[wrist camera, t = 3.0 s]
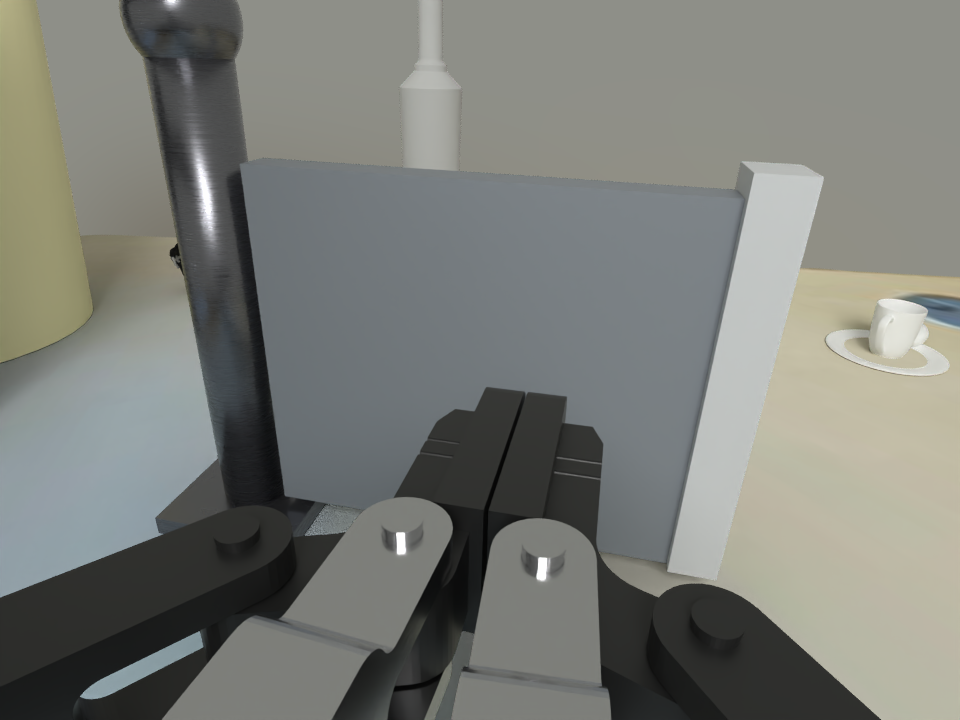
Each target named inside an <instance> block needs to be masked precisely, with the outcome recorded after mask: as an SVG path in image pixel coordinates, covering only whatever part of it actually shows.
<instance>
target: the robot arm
mask: <svg viewBox="0 0 960 720" xmlns="http://www.w3.org/2000/svg"><path fill="white" fill-rule="evenodd" d="M566 409H567V396H558V395H550V394H542V393H534V392H528V393H527V395H526V393H525V391H517V390H509V389H501V388H492V387H486V388H485V390H484V392H483V394H482V396H481V399H480V401H479V403H478V405H477V407H476V409H475V411H468V410H460V409H454V410H453V411H451V412H450V413H448V414H447V415H445V416H444V417H442V418H441V419H439V420H438V421H437V422H436V423H435V425H434V427H433V429H432V431H431V432H430V434H429V436H428V439H427V441H425V443H424V445H423V446H422V448H421V450H420V454H418V455H417V457H416V459H415V461H414V462H413V464H412V466H411V468H410V469H409V471H408V473H407V475H406V476H405V478H404V480H403V482H402V484H401V485H400V487H399V489H398V491H397V492H396V494H395V496H394V498H392V499H387V500H384V501H381V502H378V503H376V504H374V505H372V506H370V507H368V508H367V509H366V510H364V511H363V512H362V513H361V514H360V515H359V516H358V517H357V518H356V520H355V521H354V522H353V524H352V525H351V526H350V528H349V529H348V530H347V532H343V533H338V534H329V535H314V536H299V537H293V530H292V525H291V522H290V520H289V519H288V517H287V516H286V515H284V514H283V513H282V512H280V511H278V510H276V509H273V508H270V507H265V506H243V507H236V508H232V509H228V510H225V511H222V512H220V513H217V514H214V515H212V516H209V517H207V518H204V519H202V520H199V521H196V522H194V523H191V524H189V525H186V526H184V527H181V528H178V529H176V530H173V531H171V532H168V533H166V534H163V535H160V536H158V537H155V538H153V539H150V540H148V541H145V542H142V543H140V544H137V545H135V546H132V547H130V548H127V549H124V550H122V551H119V552H117V553H114V554H112V555H109V556H106V557H104V558H101V559H99V560H96V561H94V562H91V563H88V564H86V565H83V566H81V567H78V568H76V569H73V570H70V571H68V572H65V573H63V574H60V575H58V576H55V577H52V578H50V579H47V580H45V581H42V582H40V583H37V584H34V585H32V586H29V587H27V588H24V589H22V590H19V591H16V592H14V593H11V594H9V595H6V596H4V597H1V598H0V720H434V719H435V717H436V714H437V712H438V709H439V707H440V704H441V702H442V699H443V696H444V694H445V691H446V689H447V686H448V684H449V681H450V678H451V674H452V659H453V656H454V654H455V651H456V648H457V645H458V641H459V638H460V635H461V632H462V631H466V632H471V633H475V634H474V640H473V645H472V650H471V656H470V661H469V665H468V667H463V669H462V671H461V675H460V678H459V682H458V687H457V692H456V697H455V702H454V707H453V712H452V717H451V720H881V719H880V718H879V717H878V716H876V715H875V714H874V713H873V712H872V711H871V710H870V709H869V708H868V707H866V706H865V705H864V704H863V703H862V702H861V701H860V700H859V699H858V698H856V697H855V696H854V695H853V694H852V693H851V692H850V691H849V690H848V689H847V688H845V687H844V686H843V685H842V684H841V683H840V682H839V681H838V680H837V679H835V678H834V677H833V676H832V675H831V674H830V673H829V672H828V671H827V670H825V669H824V668H823V667H822V666H821V665H820V664H819V663H818V662H817V661H815V660H814V659H813V658H812V657H811V656H810V655H809V654H808V653H807V652H806V651H804V650H803V649H802V648H801V647H800V646H799V645H798V644H797V643H796V642H794V641H793V640H792V639H791V638H790V637H789V636H788V635H787V634H786V633H784V632H783V631H782V630H781V629H780V628H779V627H778V626H777V625H776V624H774V623H773V622H772V621H771V620H770V619H769V618H768V617H767V616H766V615H765V614H763V613H762V612H761V611H760V610H759V609H758V608H756V607H755V606H754V605H753V604H751V603H750V602H749V601H747V600H746V599H744V598H742V597H741V596H739V595H737V594H735V593H733V592H731V591H728V590H725V589H723V588H720V587H716V586H712V585H706V584H684V585H679V586H676V587H673V588H671V589H669V590H667V591H666V592H664V593H663V594H662V595H661V596H660V597H659V598H658V597H656V596H653V595H651V594H649V593H647V592H644V591H642V590H640V589H638V588H636V587H634V586H632V585H630V584H628V583H626V582H625V581H623V580H622V579H620V578H619V577H618V576H617V575H615V574H614V573H613V572H612V571H611V570H610V569H609V568H608V567H607V566H606V564H605V563H604V561H603V560H602V558H601V556H600V554H599V552H598V548H597V542H596V537H597V524H598V511H599V497H600V484H601V471H602V457H603V442H602V441H601V439H600V437H599V436H598V434H597V433H596V431H595V429H594V428H593V427H591V426H583V425H575V424H568V423H565V419H566ZM198 631H200V633H201V638H202V642H203V646H204V647H203V648H201V649H200V650H198V651H196V652H194V653H192V654H190V655H188V656H186V657H184V658H182V659H180V660H178V661H176V662H174V663H172V664H170V665H168V666H166V667H164V668H162V669H160V670H158V671H156V672H154V673H152V674H150V675H148V676H146V677H144V678H142V679H140V680H138V681H136V682H134V683H132V684H130V685H128V686H127V687H125V688H123V689H121V690H119V691H117V692H115V693H113V694H111V695H108V696H106V697H103V698H99V699H84V698H81V697H80V696H81V694H82V693H83V692H84V691H85V690H86V689H87V688H89V687H90V686H91V685H92V684H94V683H95V682H97V681H99V680H100V679H102V678H104V677H106V676H108V675H110V674H112V673H114V672H116V671H118V670H121V669H123V668H125V667H127V666H129V665H131V664H133V663H135V662H137V661H139V660H141V659H143V658H145V657H147V656H149V655H151V654H153V653H155V652H157V651H159V650H161V649H163V648H165V647H167V646H170V645H172V644H174V643H176V642H178V641H180V640H182V639H184V638H186V637H188V636H190V635H192V634H194V633H196V632H198Z"/></svg>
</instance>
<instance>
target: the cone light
mask: <svg viewBox="0 0 960 720" xmlns="http://www.w3.org/2000/svg"><path fill="white" fill-rule="evenodd" d="M92 312H93V304H92V298H91V293H90V288H89V282H88V277H87V272H86V266H85V261H84V255H83V250H82V245H81V239H80V234H79V228H78V223H77V218H76V212H75V207H74V202H73V196H72V191H71V186H70V180H69V175H68V169H67V164H66V158H65V154H64V148H63V142H62V137H61V132H60V126H59V121H58V115H57V110H56V105H55V100H54V94H53V89H52V83H51V78H50V72H49V67H48V62H47V56H46V51H45V46H44V40H43V35H42V29H41V24H40V19H39V13H38V8H37V2H36V0H0V363H1V362H5V361H8V360H12V359H14V358H17V357H20V356H23V355H26V354H28V353H31V352H34V351H37V350H39V349H41V348H44V347H46V346H48V345H50V344H53V343H55V342H57V341H59V340H61V339H63V338H64V337H66V336H68V335H70V334H72V333H73V332H75V331H76V330H77V329H79V328H80V327H81V326H83V325H84V324H85V323H86V322H87V320H88V319H89V318H90V317H91V315H92Z"/></svg>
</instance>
